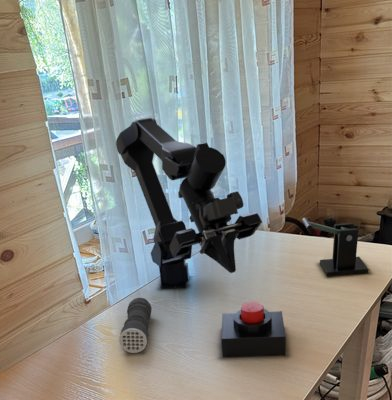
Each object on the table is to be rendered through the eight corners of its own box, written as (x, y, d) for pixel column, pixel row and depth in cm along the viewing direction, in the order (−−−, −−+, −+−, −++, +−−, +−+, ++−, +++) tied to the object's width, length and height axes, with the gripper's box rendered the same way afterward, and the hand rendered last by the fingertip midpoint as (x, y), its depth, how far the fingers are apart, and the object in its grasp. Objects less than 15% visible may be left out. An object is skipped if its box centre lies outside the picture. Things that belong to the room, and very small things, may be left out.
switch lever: (305, 232, 120) (309, 222, 119) (300, 223, 125) (304, 214, 124) (352, 244, 122) (356, 235, 121) (345, 235, 127) (349, 226, 126)
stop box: (222, 357, 99) (220, 330, 96) (223, 331, 107) (222, 305, 104) (285, 355, 98) (285, 328, 94) (281, 329, 106) (281, 303, 103)
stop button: (241, 324, 98) (240, 312, 96) (241, 313, 102) (240, 301, 100) (264, 323, 97) (264, 311, 96) (263, 312, 101) (263, 300, 100)
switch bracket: (326, 277, 125) (329, 234, 119) (319, 264, 132) (321, 223, 126) (368, 273, 125) (372, 230, 119) (358, 260, 132) (362, 219, 126)
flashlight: (130, 317, 116) (126, 295, 113) (153, 315, 116) (150, 293, 113) (121, 353, 103) (117, 330, 100) (148, 351, 103) (144, 328, 100)
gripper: (168, 189, 92) (203, 265, 89) (255, 170, 99) (290, 240, 96) (156, 222, 102) (187, 291, 100) (235, 202, 109) (266, 266, 106)
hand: (233, 271), depth 100 cm, fingers closed
